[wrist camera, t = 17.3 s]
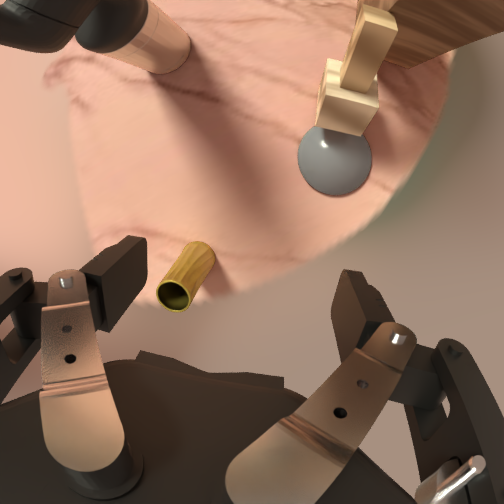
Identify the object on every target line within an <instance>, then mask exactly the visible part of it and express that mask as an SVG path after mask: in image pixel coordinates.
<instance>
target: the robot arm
mask: <svg viewBox="0 0 504 504" xmlns="http://www.w3.org/2000/svg"><path fill="white" fill-rule="evenodd" d="M74 35H75V38H76V40H77V42H78V43H79V44H80V45H81V46H82V47H83V48H85V49H87V50H90V51H93V52H96V53H99V54H102V55H105V56H108V57H112V58H115V59H117V60H120V61H123V62H126V63H129V64H131V65H134V66H137V67H139V68H142V69H144V70H147V71H150V72H152V73H156V74H165V73H169V72H171V71H174V70H175V69H177V68H178V67H180V66H181V65H182V64H183V63H184V61H185V60H186V59H187V57H188V55H189V52H190V48H191V42H190V38H189V36H188V35H187V33H186V32H185V31H184V30H183V29H182V28H181V27H179V26H178V25H177V24H176V23H175V22H174V21H173V20H172V19H171V18H170V17H169V16H168V15H166V14H165V13H164V12H163V11H162V10H161V9H160V8H158V7H157V6H156V5H155V4H154V3H153V2H151V1H150V0H6V1H5V2H4V4H2V5H0V44H1V45H4V46H9V47H13V48H17V49H21V50H25V51H30V52H36V53H53V52H57V51H59V50H61V49H62V48H64V47H65V45H66V44H67V43H68V42H69V41H70V40H71V38H72V37H73V36H74ZM147 274H148V269H147V241H146V239H145V238H143V237H137V236H130V235H128V236H126V237H125V238H124V239H123V240H121V241H120V242H119V243H118V244H115V245H113V246H110V247H108V248H105V249H104V250H103V251H102V252H100V253H99V255H97V256H95V257H94V258H93V259H92V260H91V261H89V262H88V263H87V264H86V265H85V266H83V267H82V268H81V269H80V270H79V271H78V270H63V271H60V272H57V273H55V274H53V275H52V276H51V277H50V278H49V281H48V282H34V280H33V275H32V271H31V270H29V269H27V268H15V269H12V270H9V271H8V272H6V273H4V274H3V275H2V276H0V324H1V323H2V321H3V320H4V319H5V318H6V317H7V316H8V315H9V314H10V315H11V318H12V321H13V324H14V328H13V330H12V331H11V332H10V333H9V334H8V335H7V336H6V337H5V338H4V340H3V341H2V342H1V340H0V404H1V403H2V401H3V400H4V398H5V397H6V395H7V394H8V393H9V391H10V390H11V388H12V387H13V385H14V384H15V382H16V381H17V379H18V378H19V377H20V375H21V374H22V373H23V371H24V370H25V368H26V367H27V366H28V364H29V363H30V362H31V360H32V359H33V358H34V356H35V355H36V354H37V352H38V351H39V350H40V348H41V366H42V384H43V386H42V389H40V390H38V391H35V392H32V393H30V394H27V395H25V396H22V397H19V398H17V399H14V400H12V401H9V402H6V403H3V404H1V405H0V504H504V417H503V415H502V413H501V411H500V409H499V407H498V404H497V403H496V400H495V398H494V396H493V394H492V393H491V390H490V388H489V386H488V385H487V383H486V381H485V379H484V377H483V375H482V373H481V372H480V370H479V368H478V366H477V364H476V363H475V361H474V359H473V357H472V355H471V354H470V352H469V351H468V349H467V348H466V347H465V346H464V345H463V344H461V343H460V342H458V341H456V340H453V339H449V338H444V339H442V340H440V341H439V342H438V344H437V346H436V348H435V349H433V348H429V347H426V346H422V345H419V344H416V343H417V338H416V335H415V334H414V333H413V332H412V331H411V330H410V329H409V328H407V327H406V326H404V325H402V324H399V323H396V322H395V320H394V318H393V316H392V315H391V312H390V311H389V309H388V307H387V305H386V303H385V301H384V299H383V297H382V295H381V294H380V292H379V291H378V290H377V289H375V288H374V287H373V286H372V285H368V283H367V281H366V279H365V277H364V275H363V273H362V272H359V271H352V270H345V269H344V270H343V271H342V273H341V275H340V279H339V282H338V286H337V289H336V293H335V296H334V299H333V303H332V307H331V319H332V324H333V328H334V332H335V337H336V341H337V346H338V350H339V355H340V359H341V365H340V366H339V367H338V368H337V369H336V371H334V373H333V374H332V375H331V376H330V377H329V378H328V379H327V380H326V381H325V382H324V383H323V384H322V385H321V386H320V387H319V388H318V389H317V390H316V391H315V393H314V394H312V395H311V396H310V397H309V398H308V399H307V398H305V397H304V396H302V395H300V394H298V393H296V392H294V391H292V390H289V389H286V388H284V377H279V376H271V375H263V374H256V373H249V372H241V373H240V372H239V373H208V372H205V371H202V370H199V369H197V368H195V367H192V366H190V365H188V364H185V363H183V362H180V361H178V360H176V359H174V358H170V357H166V356H161V355H157V354H153V353H149V352H145V351H141V350H140V352H139V354H138V356H137V357H136V359H135V360H132V359H129V360H116V361H111V362H107V363H102V359H101V355H100V351H99V347H98V342H97V338H96V334H95V332H96V331H97V330H102V331H105V332H108V333H109V332H110V331H111V330H112V329H113V327H114V326H115V324H116V323H117V322H118V320H119V319H120V318H121V316H122V315H123V314H124V312H125V311H126V310H127V308H128V307H129V306H130V304H131V303H132V302H133V300H134V299H135V298H136V296H137V295H138V294H139V293H140V291H141V290H142V289H143V287H144V286H145V284H146V280H147ZM446 396H447V398H448V401H449V403H450V413H449V416H448V418H447V416H446V413H445V411H444V408H443V405H442V402H443V400H444V399H445V398H446ZM388 400H391V401H394V402H398V403H402V404H404V408H405V412H406V416H407V420H408V424H409V428H410V432H411V437H412V441H413V446H414V450H415V455H416V459H417V465H418V470H419V475H420V480H421V484H420V485H419V486H418V488H417V489H416V492H415V500H414V499H413V498H412V496H411V495H409V494H408V493H407V492H406V491H405V490H404V489H403V488H402V487H400V486H399V485H398V484H397V483H396V482H395V481H393V479H392V478H390V477H389V476H388V475H387V474H386V473H385V472H384V471H383V470H382V469H381V468H380V467H379V466H378V465H376V464H375V463H374V462H373V461H372V460H371V459H370V458H369V457H368V456H367V455H366V454H365V453H364V452H363V451H362V450H361V449H360V448H359V447H358V446H359V445H360V443H361V442H362V441H363V439H364V438H365V436H366V434H367V433H368V431H369V430H370V429H371V427H372V425H373V424H374V422H375V421H376V419H377V417H378V416H379V414H380V413H381V410H382V409H383V408H384V406H385V404H386V403H387V401H388Z"/></svg>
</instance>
